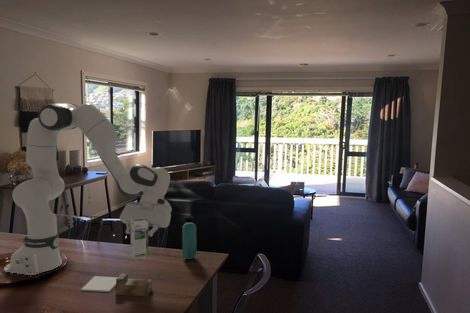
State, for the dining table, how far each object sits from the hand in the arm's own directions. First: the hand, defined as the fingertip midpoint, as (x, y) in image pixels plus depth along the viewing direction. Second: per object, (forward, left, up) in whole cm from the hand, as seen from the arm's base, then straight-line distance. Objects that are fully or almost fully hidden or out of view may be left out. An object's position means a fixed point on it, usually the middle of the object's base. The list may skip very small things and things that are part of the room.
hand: (138, 234), depth 141 cm
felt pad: (-14, -2, -20) cm, 24 cm away
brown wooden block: (0, -7, -20) cm, 21 cm away
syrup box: (0, +1, -9) cm, 9 cm away
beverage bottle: (+14, +26, -20) cm, 36 cm away
